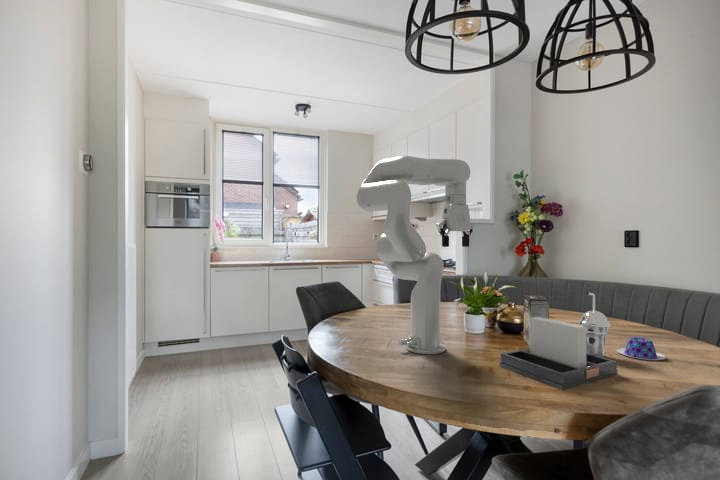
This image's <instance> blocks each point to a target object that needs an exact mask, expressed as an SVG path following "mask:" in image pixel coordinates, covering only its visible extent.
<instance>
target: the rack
mask: <svg viewBox="0 0 720 480" xmlns="http://www.w3.org/2000/svg"><path fill="white" fill-rule="evenodd" d="M617 365H618V363H617V360H613V359H609V358H606V357H604V356H603V357H599V356H595V355H592V354H588V353H586V367H584V368H577V367H574V366H571V365H568V364H565V363H561V362H558V361H555V360H552V359H548V358H545V357H542V356H539V355H536V354H532V353H530V347H528V348H523V349H518V350H517V349H516V350H513V351H507V352H503V353H500V362H499V367H500V368H503V369H506V370H509V371H511V372H514V373H516V374H519V375H522V376H524V377H527V378H528V379H529V378H530V379H531V380H535V381H537V382H540V383H542V384H545V385H548V386H551V387H553V388H555V389H558V390H561V391H565V390H569V389H571V388H574V387H579V386H582V385H586V384H589V383H593V382H596V381H600V380H602V379H606V378H609V377H613V376H617V375H619V371H618V369H617V368H618V367H617Z"/></svg>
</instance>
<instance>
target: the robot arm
mask: <svg viewBox="0 0 720 480" xmlns="http://www.w3.org/2000/svg"><path fill="white" fill-rule="evenodd" d="M470 177H471V168H470V165H469V164H468V162H466V161H465V160H461V159H453V158H449V159H448V158H422V157H419V156H418V157H416V156H410V155H401V156H395V157H390V158H383V159H382V160H381V159H380V160H379V161H378V162H377V163H375V165H374V167H372V168H371V170H370V171H369V173H368V174H367V175H366V177H365V178H364V180H363V181H362V183H361V184H360V185H359V188H358V189H357V194H356V202H357V204H358V206H359V208H360V209H361V210H363V211H365V212H381V211H382V212H383V211H385V212H386V211H387V213H386V217H385V220H384V223H383V226H382V230H383V233H382V234H381V235H380V236H379V237H378V238H377V240H376V243H375V244H376V245H375V246H376V248H375V249H376V253H377V256H378V258H379V260H380V261H381V262H382V264H384V265H385V267H386V268H387V269H388V270H389V271H390V273H391V274H393V276H394V277H396V278H397V279H400V280H404V281H405V280H407V281H415V282H416V284H415V285H414V287H413V289H412V290H411V293H410V334H408V335H407V337H406V338H400V339H398V341H397V344H398V346H399V347H401V346H405V349H407V351H408V352H412V353H414V354H420V355H438V354H442V353H444V352H445V351H446V345H445V344H443V343H441V287H442V285H441V284H442V278H443V275H444V274H443V273H444V267H445V266H444V260H443V258H442V257H441V256H440V255H439V254H437V253H435V252H429V251H427V246H426V243H425V241H424V240H423V238H422V236H421V235H420V234H419V232H418V231H417V230H416V228H415V226H414V225H413V224H412V221H411V219H410V212H411V211H410V210H411V201H412V200H411V199H412V191H411V187H410V186H409V185H417V186H431V185H435V186H439V187H440V186H441V187H442V186H445V191H444V192H445V194H444V195H445V196H444V197H443V201H445V204H444V205H443V210H442V219H441V220H440V221H439V222H437V223H436V224H435V226H436V227H437V231H438V233H439V234H440V237H441V247H443V248H447V247H450V236H449V233H450V232H461V234H462V235H463V236H462V237H461V246H462V247H463V248H465V247H466V248H470V237H471V234H472V233H473V230H474V229H475V228H474V227H475V224H474V223H472V222H471V217H470V216H471V215H470V209H469V205H468V204H467V182H468V181H469V179H470Z"/></svg>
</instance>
